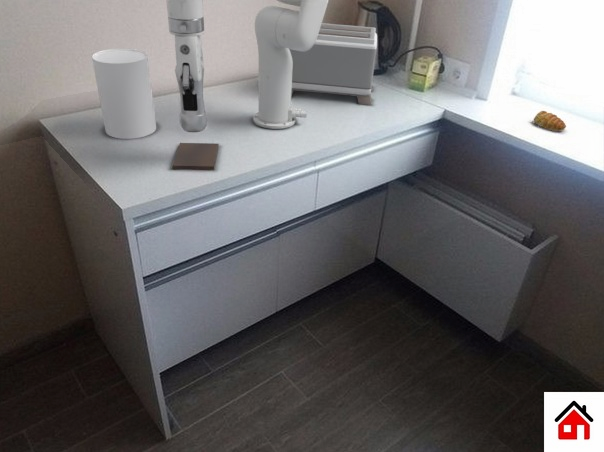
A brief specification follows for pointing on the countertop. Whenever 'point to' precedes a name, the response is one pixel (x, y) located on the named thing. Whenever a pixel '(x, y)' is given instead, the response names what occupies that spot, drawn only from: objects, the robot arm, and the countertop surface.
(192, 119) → the silver bottle
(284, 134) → the countertop surface
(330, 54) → the toaster
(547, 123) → the pastry
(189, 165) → the walnut board
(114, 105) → the canister
